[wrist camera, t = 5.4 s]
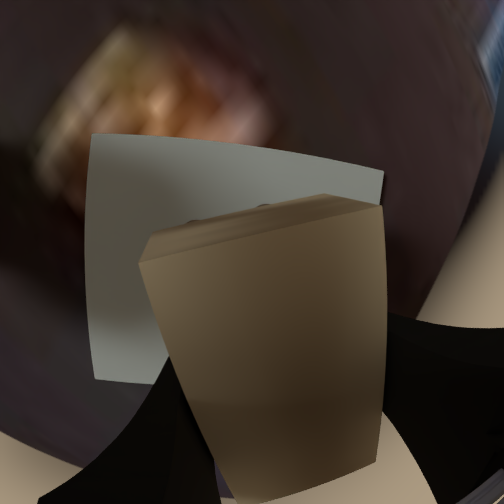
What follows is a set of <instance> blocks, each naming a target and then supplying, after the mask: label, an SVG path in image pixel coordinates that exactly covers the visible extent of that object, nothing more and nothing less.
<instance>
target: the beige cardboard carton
mask: <svg viewBox="0 0 504 504" xmlns="http://www.w3.org/2000/svg"><path fill="white" fill-rule="evenodd" d="M138 264H139V268H140V271H141V274H142V278H143V281H144V284H145V287H146V291H147V294H148V297H149V300H150V303H151V306H152V309H153V312H154V315H155V318H156V321H157V324H158V326H159V329H160V332H161V335H162V338H163V340H164V343H165V346H166V349H167V351H168V354H169V357H170V359H171V362H172V364H173V367H174V369H175V372H176V374H177V377H178V379H179V382H180V384H181V387H182V389H183V392H184V394H185V396H186V399H187V401H188V403H189V406H190V408H191V410H192V413H193V415H194V417H195V419H196V422H197V424H198V426H199V428H200V430H201V433H202V435H203V437H204V439H205V441H206V443H207V445H208V447H209V450H210V452H211V454H212V456H213V458H214V460H215V462H216V464H217V466H218V468H219V470H220V472H221V474H222V476H223V477H224V479H225V481H226V483H227V485H228V487H229V489H230V491H231V492H232V494H233V496H234V498H235V500H236V501H237V503H238V504H259V503H263V502H267V501H271V500H274V499H278V498H281V497H285V496H288V495H291V494H295V493H298V492H301V491H304V490H307V489H310V488H312V487H316V486H318V485H321V484H324V483H327V482H329V481H332V480H335V479H337V478H339V477H342V476H345V475H347V474H349V473H352V472H354V471H356V470H359V469H361V468H363V467H365V466H368V465H370V464H372V463H374V462H375V461H376V455H377V447H378V441H379V433H380V425H381V416H382V406H383V395H384V383H385V367H386V344H387V275H386V252H385V236H384V222H383V211H382V206H381V205H376V204H372V203H368V202H363V201H359V200H354V199H349V198H345V197H340V196H335V195H330V194H325V193H323V194H318V195H313V196H308V197H303V198H298V199H293V200H289V201H284V202H279V203H274V204H262V205H259V206H257V207H256V208H251V209H247V210H242V211H238V212H233V213H229V214H225V215H220V216H216V217H212V218H207V219H203V220H191V221H189V222H187V223H185V224H182V225H178V226H174V227H170V228H166V229H162V230H158V231H154V232H152V234H151V236H150V238H149V241H148V243H147V245H146V247H145V249H144V251H143V253H142V256H141V258H140V260H139V262H138Z"/></svg>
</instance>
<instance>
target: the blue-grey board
mask: <svg viewBox="0 0 504 504" xmlns="http://www.w3.org/2000/svg"><path fill="white" fill-rule="evenodd" d="M383 175H384V171H380V170H376V169H372V168H368V167H363V166H359V165H354V164H350V163H345V162H340V161H336V160H331V159H326V158H321V157H315V156H310V155H305V154H299V153H293V152H287V151H281V150H275V149H269V148H262V147H255V146H248V145H241V144H233V143H225V142H217V141H207V140H198V139H187V138H176V137H163V136H148V135H129V134H98V133H92V136H91V145H90V153H89V163H88V174H87V188H86V206H85V285H86V303H87V316H88V328H89V337H90V346H91V354H92V362H93V369H94V376H95V379H101V380H110V381H120V382H131V383H144V384H154V383H155V381H156V379H157V377H158V376H159V374H160V372H161V370H162V368H163V366H164V364H165V362H166V360H167V358H168V356H169V354H168V351H167V349H166V346H165V343H164V340H163V338H162V335H161V332H160V329H159V326H158V324H157V321H156V318H155V315H154V312H153V309H152V306H151V303H150V300H149V297H148V294H147V291H146V287H145V284H144V281H143V278H142V274H141V271H140V268H139V264H138V262H139V260H140V258H141V256H142V253H143V251H144V249H145V247H146V245H147V243H148V241H149V238H150V236H151V234H152V232H154V231H158V230H162V229H166V228H170V227H174V226H178V225H182V224H185V223H187V222H189V221H191V220H203V219H207V218H212V217H216V216H220V215H225V214H229V213H233V212H238V211H242V210H247V209H251V208H256V207H257V206H259V205H262V204H274V203H279V202H284V201H289V200H293V199H298V198H303V197H308V196H313V195H318V194H323V193H325V194H330V195H335V196H340V197H345V198H349V199H354V200H359V201H363V202H368V203H372V204H376V205H379V203H380V196H381V189H382V182H383Z"/></svg>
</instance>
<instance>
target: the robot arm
mask: <svg viewBox="0 0 504 504" xmlns="http://www.w3.org/2000/svg"><path fill="white" fill-rule="evenodd" d="M382 411H383V412H384V414H385V415H386V416H387V417H388V419H389V420H390V421H391V423H392V424H393V425H394V427H395V428H396V430H397V431H398V433H399V434H400V436H401V437H402V439H403V441H404V442H405V444H406V445H407V447H408V448H409V450H410V452H411V454H412V455H413V457H414V459H415V460H416V462H417V464H418V466H419V467H420V469H421V471H422V473H423V475H424V477H425V479H426V481H427V483H428V484H429V486H430V489H431V491H432V493H433V495H434V497H435V499H436V502H437V504H493V503H494V502H495V501H497V500H498V499H499V498H500V497H501V496H502V495H503V494H504V328H463V327H453V326H446V325H438V324H433V323H428V322H424V321H419V320H415V319H411V318H407V317H403V316H400V315H396V314H392V313H389V312H387V344H386V367H385V383H384V395H383V406H382ZM37 504H221V500H220V496H219V492H218V487H217V481H216V475H215V466H214V458H213V456H212V454H211V452H210V450H209V447H208V445H207V443H206V441H205V439H204V437H203V435H202V433H201V430H200V428H199V426H198V424H197V422H196V419H195V417H194V415H193V413H192V410H191V408H190V406H189V403H188V401H187V399H186V396H185V394H184V392H183V389H182V387H181V384H180V382H179V379H178V377H177V374H176V372H175V369H174V367H173V364H172V362H171V359H170V357H169V356H168V358H167V360H166V362H165V364H164V366H163V368H162V370H161V372H160V374H159V376H158V377H157V379H156V381H155V383H154V385H153V387H152V388H151V390H150V392H149V394H148V395H147V397H146V399H145V400H144V402H143V403H142V405H141V406H140V408H139V409H138V411H137V413H136V414H135V416H134V417H133V418H132V420H131V421H130V422H129V424H128V425H127V426H126V427H125V428H124V430H123V431H122V432H121V433H120V434H119V436H118V437H117V438H116V439H115V440H114V441H113V442H112V443H111V444H110V445H109V446H108V447H107V448H106V449H105V450H104V451H103V452H102V453H101V454H100V455H99V456H98V457H97V458H96V459H95V460H94V461H92V462H91V463H90V464H89V465H88V466H86V467H85V468H84V469H83V470H81V471H80V472H79V473H78V474H76V475H75V476H74V477H72V478H71V479H69V480H68V481H67V482H65V483H63V484H62V485H60V486H59V487H57V488H56V489H54V490H52V491H51V492H49V493H47V494H46V495H44V496H42V497H40V498H39V499H38V503H37ZM497 504H504V497H503V498H502V499H501V500H500V501H499V502H498V503H497Z"/></svg>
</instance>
